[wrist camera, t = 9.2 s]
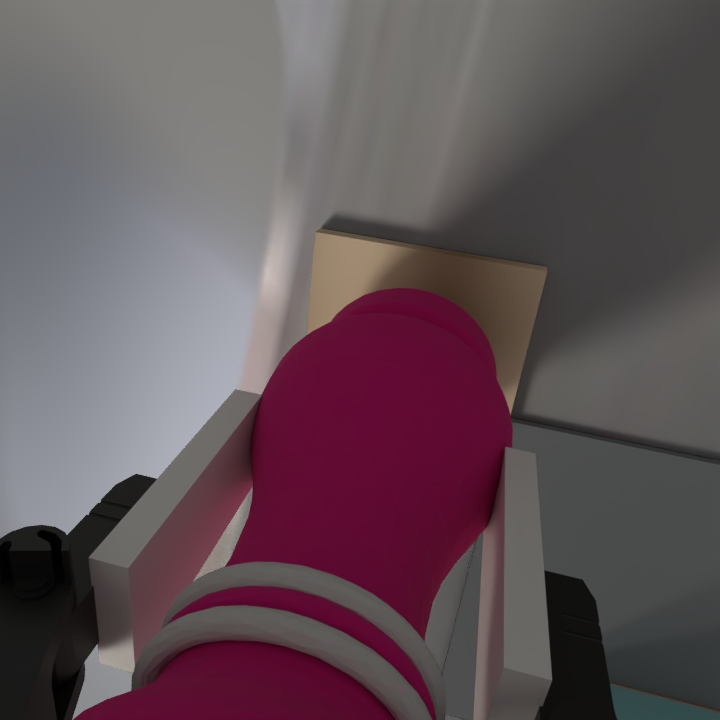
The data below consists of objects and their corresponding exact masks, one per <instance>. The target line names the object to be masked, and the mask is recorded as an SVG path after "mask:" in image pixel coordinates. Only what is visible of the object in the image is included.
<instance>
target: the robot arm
mask: <svg viewBox="0 0 720 720" xmlns="http://www.w3.org/2000/svg"><path fill="white" fill-rule="evenodd" d="M261 400H262V395H260V394H255V393H250V392H246V391H241V390H236V389H235V390H234V392H233V393H232V394H231V395H230V396H229V397H228V399H227V400H226V401H225V402H224V403H223V404H222V405H221V407H220V408H219V409H218V410H217V411H216V412H215V413H214V415H213V416H212V417H211V418H210V419H209V420H208V421H207V422H206V424H205V425H204V426H203V427H202V428H201V430H200V431H199V432H198V433H197V434H196V435H195V436H194V438H193V439H192V440H191V441H190V442H189V443H188V444H187V445H186V447H185V448H184V449H183V450H182V451H181V453H179V455H178V456H177V457H176V458H175V459H174V460H173V461H172V463H171V464H170V465H169V466H168V467H167V468H166V470H165V471H164V472H163V473H162V474H161V475H160V476H159V478H158V479H155V478H151V477H147V476H143V475H138V474H135V475H133V476H131V477H129V478H128V479H126V480H124V481H122V482H120V483H118V484H116V485H115V486H114V487H113V488H112V489H111V490H110V491H109V492H108V493H107V494H106V495H105V496H104V497H103V498H102V499H101V502H100V503H98V504H97V505H96V506H95V507H94V508H93V509H92V510H91V511H90V513H89V515H86V516H85V517H84V518H83V519H82V520H81V521H80V522H79V523H78V525H76V527H75V528H74V529H73V530H72V531H71V532H70V533H69V534H68V535H66V533H65V532H63V531H61V530H60V529H58V528H56V527H52V526H44V525H38V526H29V527H24V528H21V529H18V530H16V531H12V532H10V533H8V534H7V535H5V536H4V537H2V538H1V539H0V720H72V718H73V714H74V711H75V708H76V704H77V701H78V698H79V695H80V692H81V689H82V686H83V682H84V677H85V664H84V662H85V660H86V659H87V657H88V656H89V655H90V653H91V652H92V650H93V649H94V648H95V646H96V645H97V644H98V653H99V663H100V664H104V665H108V666H111V667H115V668H118V669H121V670H125V671H128V672H131V673H133V672H134V668H135V665H136V662H137V660H138V658H139V656H140V654H141V652H142V650H143V648H144V647H145V645H146V644H147V643H148V642H149V640H150V639H151V638H152V637H153V636H154V635H155V634H156V633H158V632H159V631H160V630H161V628H162V624H163V621H164V617H165V616H166V614H167V612H168V610H169V608H170V606H171V605H172V603H173V602H174V600H175V598H176V597H177V596H178V595H179V594H180V593H181V592H182V591H183V590H184V589H185V588H186V587H187V586H188V585H189V584H191V583H192V582H193V580H194V579H195V577H196V576H197V574H198V572H199V571H200V569H201V568H202V566H203V564H204V563H205V561H206V560H207V558H208V556H209V555H210V553H211V552H212V550H213V548H214V547H215V545H216V544H217V542H218V540H219V539H220V537H221V536H222V534H223V532H224V531H225V529H226V528H227V526H228V524H229V523H230V521H231V520H232V518H233V516H234V515H235V513H236V512H237V510H238V508H239V507H240V505H241V503H242V502H243V500H244V499H245V497H246V495H247V494H248V492H249V491H250V489H251V487H252V486H253V481H252V468H251V436H252V431H253V426H254V422H255V418H256V414H257V411H258V408H259V405H260V402H261ZM473 720H617V717H616V714H615V710H614V705H613V699H612V693H611V688H610V682H609V676H608V670H607V664H606V658H605V652H604V646H603V644H602V634H601V628H600V626H599V616H598V610H597V604H596V600H595V598H594V597H593V595H592V594H591V592H590V590H589V589H588V587H587V586H586V584H585V583H584V581H583V579H578V578H574V577H570V576H566V575H562V574H558V573H553V572H549V571H545V570H544V562H543V548H542V534H541V521H540V507H539V494H538V480H537V466H536V453H532V452H527V451H523V450H518V449H513V448H509V447H505V450H504V454H503V460H502V467H501V473H500V478H499V483H498V488H497V493H496V498H495V502H494V506H493V510H492V513H491V517H490V519H489V522H488V524H487V526H486V527H485V529H484V531H483V550H482V568H481V587H480V605H479V624H478V642H477V661H476V679H475V698H474V716H473Z"/></svg>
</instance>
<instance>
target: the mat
mask: <svg viewBox="0 0 720 720" xmlns="http://www.w3.org/2000/svg"><path fill="white" fill-rule="evenodd" d="M511 422H512V428H513V440H512V448H513V449H518V450H523V451H527V452H532V453H536V466H537V480H538V494H539V507H540V521H541V534H542V548H543V562H544V570H545V571H549V572H553V573H558V574H562V575H566V576H570V577H574V578H578V579H583V581H584V583H585V584H586V586H587V587H588V589H589V590H590V592H591V594H592V595H593V597H594V598H595V600H596V604H597V610H598V616H599V626H600V628H601V634H602V644H603V646H604V652H605V658H606V664H607V670H608V676H609V682H610V683H613V684H617V685H620V686H624V687H628V688H632V689H636V690H640V691H643V692H647V693H651V694H655V695H659V696H662V697H666V698H670V699H674V700H678V701H682V702H685V703H689V704H693V705H697V706H701V707H704V708H708V709H712V710H716V711H720V461H718V460H713V459H708V458H703V457H698V456H693V455H689V454H684V453H679V452H674V451H669V450H664V449H659V448H655V447H650V446H645V445H640V444H635V443H630V442H626V441H621V440H616V439H611V438H606V437H601V436H596V435H592V434H587V433H582V432H577V431H572V430H567V429H562V428H558V427H553V426H548V425H543V424H538V423H533V422H529V421H524V420H519V419H514V418H511ZM483 531H484V530H483ZM482 550H483V532H482V533H481V534H480V536H479V537H478V538H477V540H476V544H475V548H474V552H473V556H472V559H471V563H470V567H469V571H468V575H467V579H466V583H465V587H464V591H463V595H462V598H461V602H460V606H459V610H458V614H457V618H456V622H455V626H454V630H453V633H452V637H451V641H450V645H449V649H448V653H447V657H446V661H445V665H444V669H443V672H442V679H443V682H444V686H445V692H446V713H445V714H447V715H450V716H454V717H458V718H461V719H465V720H473V716H474V698H475V679H476V661H477V642H478V624H479V605H480V587H481V568H482Z"/></svg>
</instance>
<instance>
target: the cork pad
mask: <svg viewBox="0 0 720 720" xmlns="http://www.w3.org/2000/svg"><path fill="white" fill-rule="evenodd" d="M547 272H548V271H547V267H545V266H539V265H533V264H527V263H521V262H516V261H510V260H504V259H498V258H492V257H486V256H480V255H474V254H468V253H463V252H457V251H451V250H445V249H439V248H433V247H427V246H421V245H415V244H409V243H404V242H398V241H392V240H386V239H380V238H374V237H368V236H362V235H356V234H351V233H345V232H339V231H333V230H327V229H321V228H320V229H319V230H318V231H316V233H315V245H314V256H313V268H312V280H311V292H310V304H309V316H308V328H307V335H308V334H309V333H311V332H312V331H314V330H316V329H317V328H319V327H321V326H323V325H325V324H327V323H329V322H331V321H332V319H333V318H334V317H335V315H336V314H337V313H338V312H339V311H341V310H342V309H343V308H344V307H345V306H346V305H348V304H349V303H351V302H353V301H354V300H356V299H358V298H360V297H361V296H363V295H365V294H369V293H372V292H375V291H379V290H384V289H392V288H414V289H419V290H424V291H428V292H431V293H434V294H437V295H439V296H442V297H444V298H446V299H448V300H450V301H451V302H453V303H455V304H456V305H458V306H459V307H460V308H462V309H463V310H464V311H466V312H467V313H468V314H469V315H470V316H471V317H472V318H473V319H474V320H475V321H476V323H477V324H478V325H479V326H480V328H481V329H482V330H483V332H484V334H485V335H486V337H487V339H488V341H489V343H490V345H491V348H492V351H493V354H494V358H495V362H496V372H497V380H498V383H499V385H500V387H501V389H502V391H503V394H504V396H505V398H506V401H507V405H508V408H509V411H510V415H511V412H512V408H513V404H514V400H515V396H516V392H517V388H518V384H519V381H520V377H521V373H522V369H523V365H524V361H525V357H526V353H527V350H528V346H529V342H530V338H531V334H532V330H533V326H534V322H535V319H536V315H537V311H538V307H539V303H540V299H541V295H542V291H543V288H544V284H545V280H546V276H547Z"/></svg>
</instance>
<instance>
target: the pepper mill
mask: <svg viewBox="0 0 720 720" xmlns="http://www.w3.org/2000/svg"><path fill="white" fill-rule="evenodd" d="M512 440H513V428H512V422H511V417H510V411H509V408H508V405H507V401H506V398H505V396H504V394H503V391H502V389H501V387H500V385H499V383H498V380H497V372H496V362H495V358H494V354H493V351H492V348H491V345H490V343H489V341H488V339H487V337H486V335H485V334H484V332H483V330H482V329H481V328H480V326H479V325H478V324H477V323H476V321H475V320H474V319H473V318H472V317H471V316H470V315H469V314H468V313H467V312H466V311H464V310H463V309H462V308H460V307H459V306H458V305H456V304H455V303H453V302H451V301H450V300H448V299H446V298H444V297H442V296H439V295H437V294H434V293H431V292H428V291H424V290H419V289H414V288H392V289H384V290H379V291H375V292H372V293H369V294H365V295H363V296H361V297H360V298H358V299H356V300H354V301H353V302H351V303H349V304H348V305H346V306H345V307H344V308H343V309H342V310H341V311H339V312H338V313H337V314H336V315H335V317H334V318H333V319H332V321H331V322H329V323H327V324H325V325H323V326H321V327H319V328H317V329H316V330H314V331H312V332H311V333H309V334H308V335H306V336H305V337H304V338H303V339H301V340H300V341H299V342H298V343H296V344H295V345H294V346H293V347H292V348H291V349H290V350H289V352H288V353H287V354H286V355H285V356H284V357H283V358H282V360H281V361H280V363H279V365H278V366H277V368H276V370H275V371H274V373H273V375H272V376H271V378H270V380H269V382H268V383H267V385H266V387H265V389H264V391H263V393H262V400H261V402H260V405H259V408H258V411H257V414H256V418H255V422H254V426H253V431H252V436H251V468H252V481H253V495H252V503H251V507H250V512H249V517H248V519H247V521H246V524H245V526H244V528H243V531H242V533H241V535H240V538H239V540H238V542H237V545H236V547H235V549H234V552H233V554H232V556H231V558H230V560H229V561H228V563H227V564H226V566H225V567H223V568H220V569H218V570H215V571H212V572H210V573H207V574H206V575H204V576H202V577H200V578H198V579H197V580H195V581H194V582H192V583H191V584H189V585H188V586H187V587H186V588H185V589H184V590H183V591H182V592H181V593H180V594H179V595H178V596H177V597H176V598H175V600H174V602H173V603H172V605H171V606H170V608H169V610H168V612H167V614H166V616H165V617H164V621H163V624H162V628H161V630H160V631H159V632H158V633H156V634H155V635H154V636H153V637H152V638H151V639H150V640H149V642H148V643H147V644H146V645H145V647H144V648H143V650H142V652H141V654H140V656H139V658H138V660H137V662H136V665H135V668H134V672H133V675H132V689H131V691H130V692H127V693H125V694H122V695H119V696H116V697H113V698H110V699H107V700H105V701H103V702H101V703H99V704H97V705H95V706H93V707H91V708H89V709H87V710H85V711H83V712H82V713H81V714H80V715H78V716H77V717H76V718H74V719H73V720H445V713H446V692H445V686H444V682H443V679H442V675H441V671H440V669H439V667H438V665H437V662H436V660H435V658H434V656H433V654H432V653H431V651H430V650H429V648H428V646H427V645H426V643H425V642H424V641H425V633H426V628H427V624H428V620H429V615H430V611H431V607H432V602H433V600H434V598H435V596H436V594H437V592H438V590H439V588H440V585H441V583H442V581H443V580H444V579H445V577H446V576H447V574H448V573H449V571H450V570H451V569H452V567H453V566H454V564H455V563H456V562H457V561H458V560H459V559H460V557H461V556H462V555H463V554H464V553H465V552H466V551H467V549H468V548H469V547H470V546H471V545H472V544H473V543H474V542H475V540H476V539H477V538H478V537H479V536H480V534H481V533H482V532H483V530H484V529H485V527H486V526H487V524H488V522H489V519H490V517H491V513H492V510H493V506H494V502H495V498H496V493H497V488H498V483H499V478H500V473H501V467H502V460H503V454H504V450H505V447H509V448H512Z"/></svg>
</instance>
